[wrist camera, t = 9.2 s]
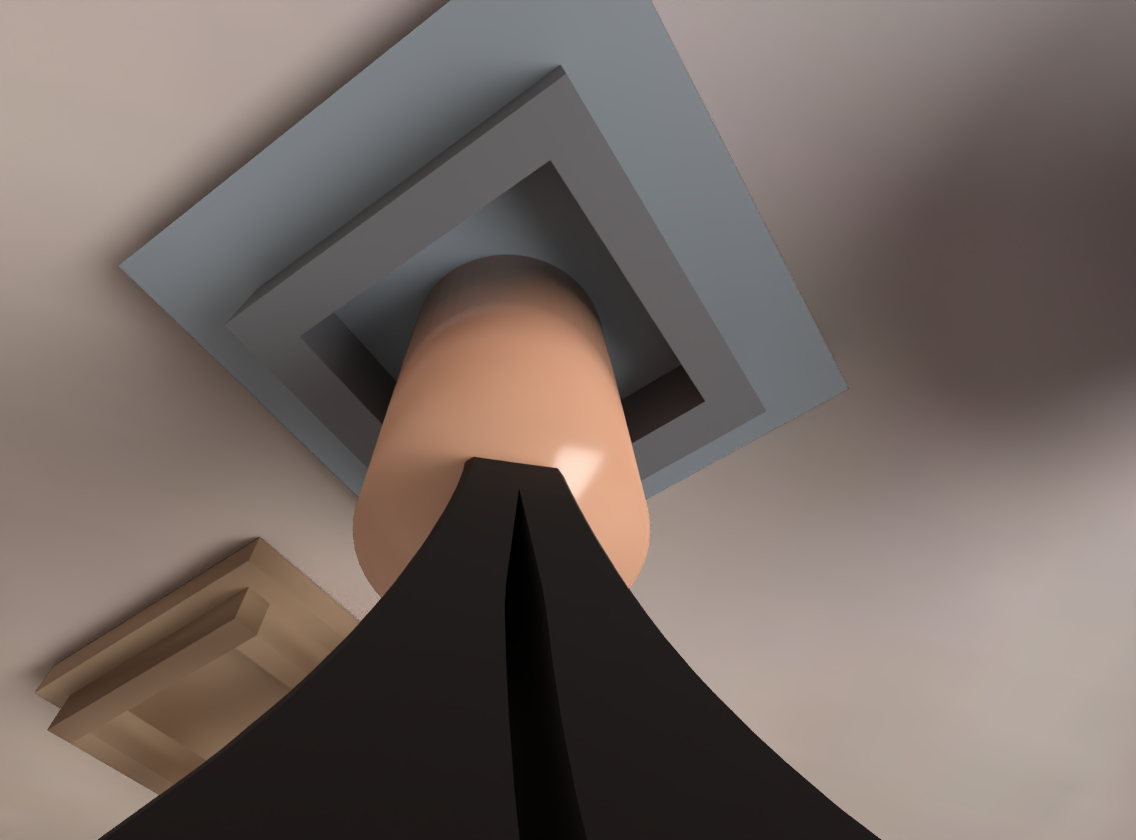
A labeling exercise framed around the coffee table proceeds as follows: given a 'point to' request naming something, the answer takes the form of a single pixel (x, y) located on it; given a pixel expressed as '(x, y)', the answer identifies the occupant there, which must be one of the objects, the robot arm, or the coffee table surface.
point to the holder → (195, 667)
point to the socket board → (500, 234)
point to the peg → (501, 412)
